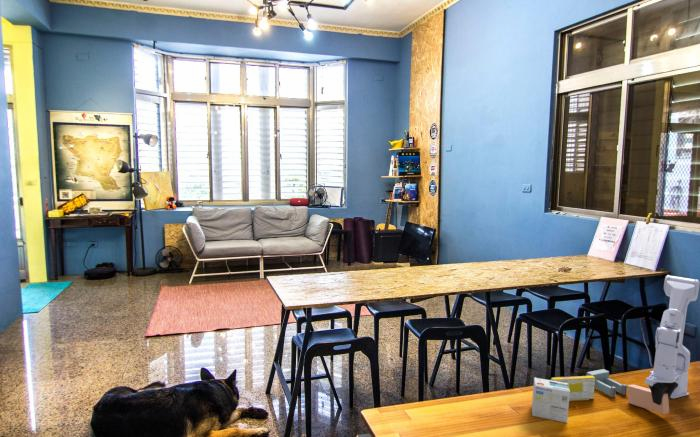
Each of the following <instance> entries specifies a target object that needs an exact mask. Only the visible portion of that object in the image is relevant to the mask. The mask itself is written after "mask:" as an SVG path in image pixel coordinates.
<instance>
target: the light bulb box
mask: <svg viewBox="0 0 700 437" xmlns="http://www.w3.org/2000/svg"><path fill="white" fill-rule="evenodd" d="M532 388H533V389H532V400H531V401H532V403H531V412H532V413H531V414H532V415H531V416H532V417H536V418H542V419H546V420H553V421H556V422H562V423H566V424H567V423H568V419H569V418H568V417H569V406H570V401H569V397H570V390H569V387H568V383H565V382H558V381H552V380H551V379H546V378H538V377H536V376H535V377H533V387H532Z"/></svg>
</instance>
